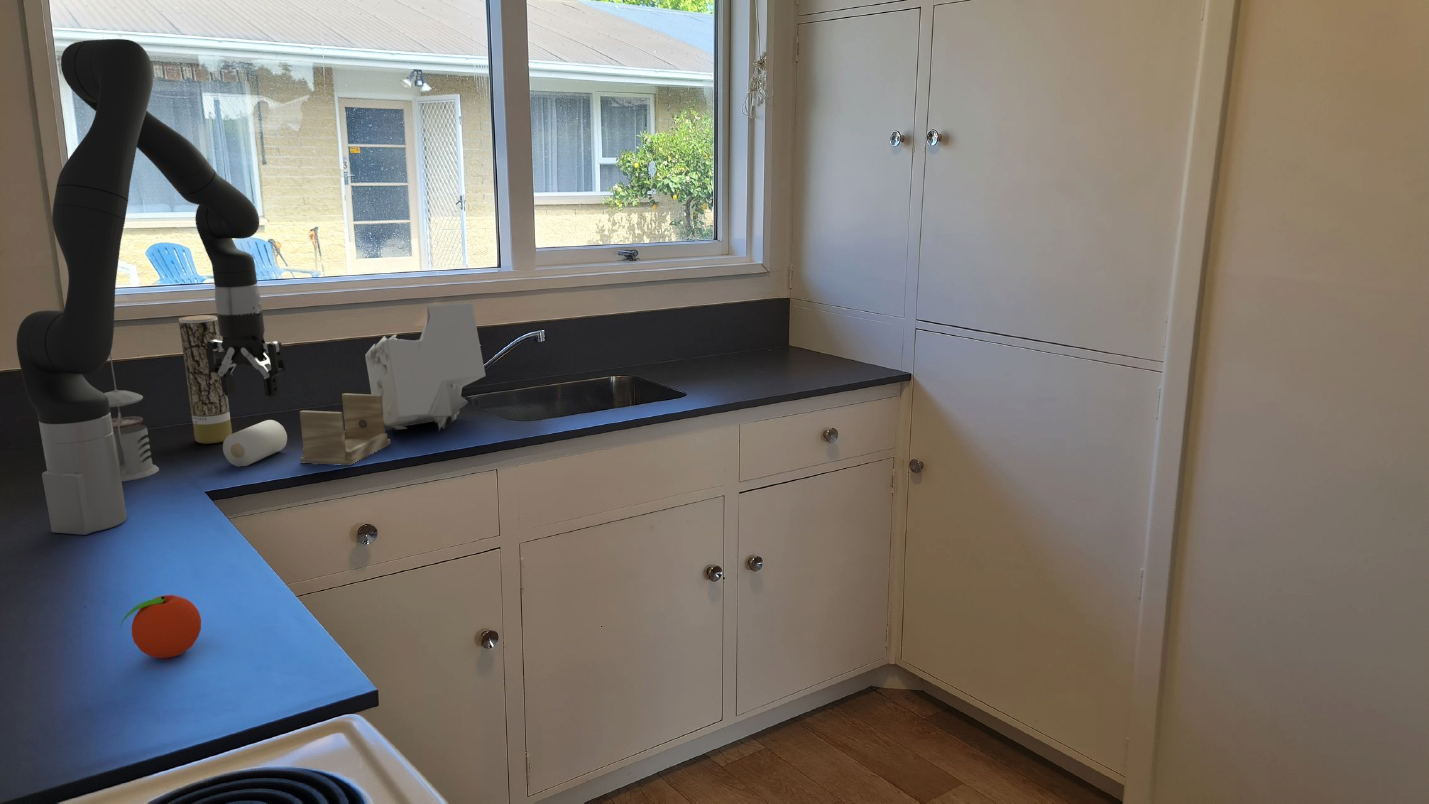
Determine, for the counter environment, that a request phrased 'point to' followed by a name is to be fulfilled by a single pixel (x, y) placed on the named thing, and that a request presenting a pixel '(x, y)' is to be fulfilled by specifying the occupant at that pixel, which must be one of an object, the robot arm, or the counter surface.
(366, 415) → the holder
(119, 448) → the french press
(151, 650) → the clementine
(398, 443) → the counter surface
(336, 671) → the counter surface
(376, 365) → the white jagged block
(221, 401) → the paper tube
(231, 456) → the roll
